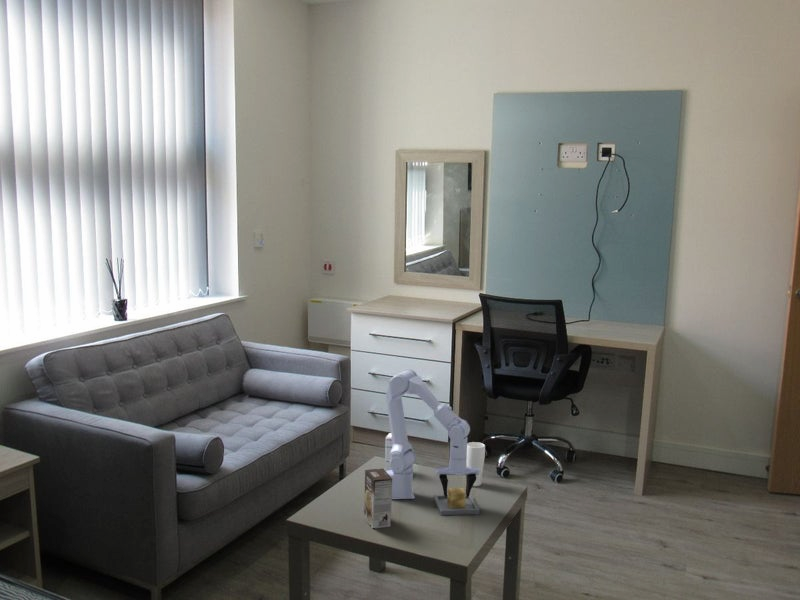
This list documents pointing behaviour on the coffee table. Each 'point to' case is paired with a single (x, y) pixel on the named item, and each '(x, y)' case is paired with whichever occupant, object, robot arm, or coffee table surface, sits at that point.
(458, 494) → the cube
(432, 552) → the coffee table surface
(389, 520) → the coffee box
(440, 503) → the tray
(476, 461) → the drinking glass
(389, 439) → the syrup box
